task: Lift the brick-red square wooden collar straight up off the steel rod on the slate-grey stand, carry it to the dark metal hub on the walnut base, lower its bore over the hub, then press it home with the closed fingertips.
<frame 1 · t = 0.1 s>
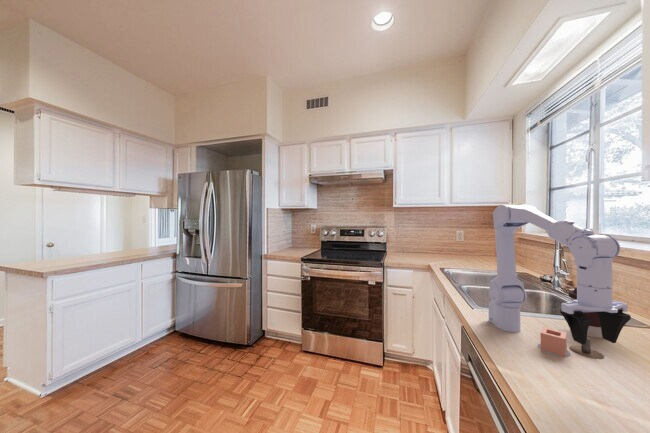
hand: (594, 341, 59), 10 cm above the table, tool pointing down, fingers open, 7 cm apart
coffee cup: (589, 335, 81), on the table
stand: (553, 352, 72), on the table
collar: (553, 349, 72), point 1 cm above the table, touching stand
hub: (586, 354, 70), on the table
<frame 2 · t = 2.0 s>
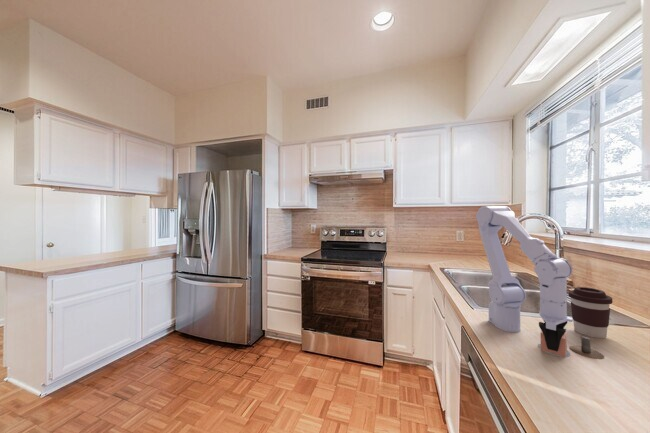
hand: (553, 345, 71), 2 cm above the table, tool pointing down, fingers closed on collar, 5 cm apart
collar: (553, 349, 72), point 1 cm above the table, touching gripper, stand
everything else where it was.
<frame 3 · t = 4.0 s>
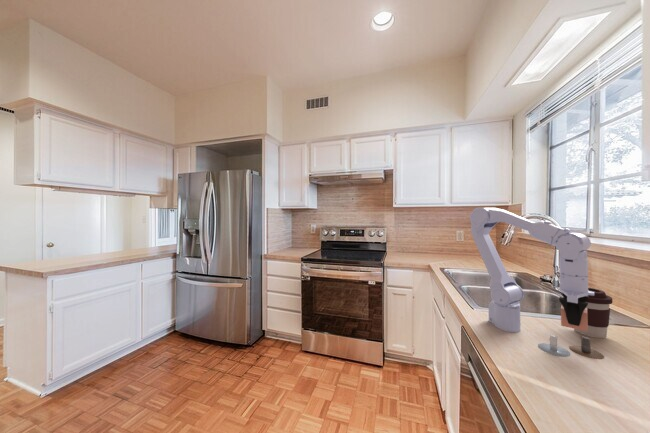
hand: (574, 321, 70), 9 cm above the table, tool pointing down, fingers closed on collar, 5 cm apart
collar: (574, 325, 70), point 8 cm above the table, touching gripper
everything else where it was.
when the fingers open (3 cm above the table, at t = 5.9 s): collar drops 1 cm, resting on hub.
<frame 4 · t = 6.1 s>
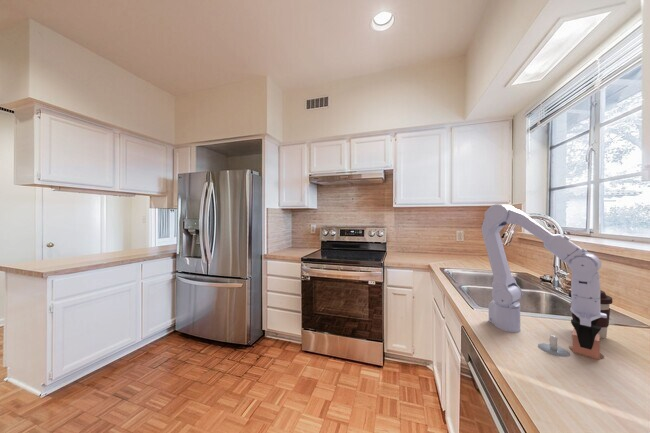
hand: (585, 342, 70), 3 cm above the table, tool pointing down, fingers open, 7 cm apart
collar: (586, 351, 70), point 1 cm above the table, touching hub
everything else where it was.
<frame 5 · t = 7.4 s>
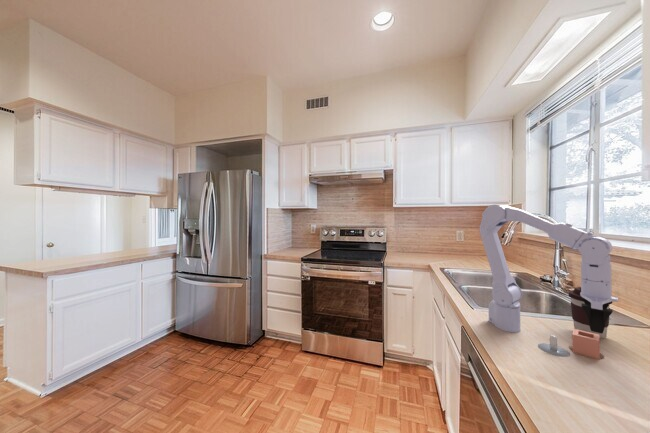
hand: (596, 327, 69), 8 cm above the table, tool pointing down, fingers open, 6 cm apart
nothing on the table moved.
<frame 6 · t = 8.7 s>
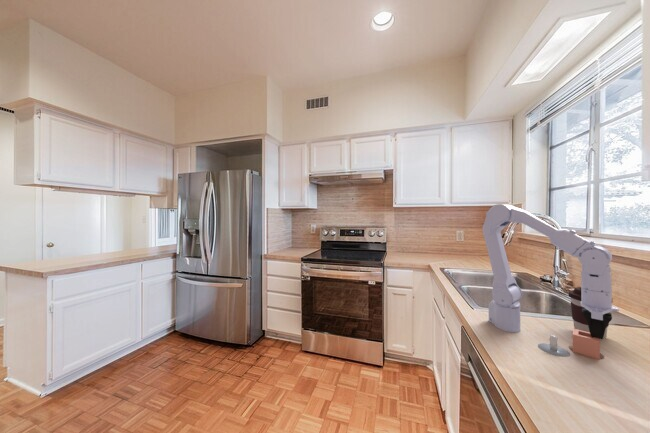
hand: (596, 337, 69), 6 cm above the table, tool pointing down, fingers closed, pressing on collar
collar: (586, 351, 70), point 1 cm above the table, touching gripper, hub
everything else where it was.
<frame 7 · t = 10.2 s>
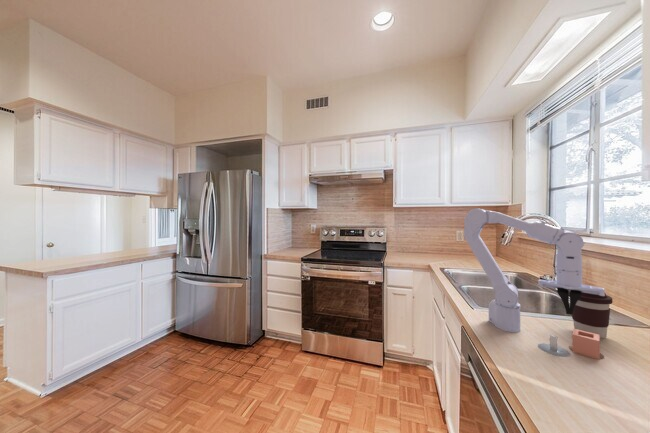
hand: (569, 313, 76), 9 cm above the table, tool pointing down, fingers closed
collar: (586, 351, 70), point 1 cm above the table, touching hub
everything else where it was.
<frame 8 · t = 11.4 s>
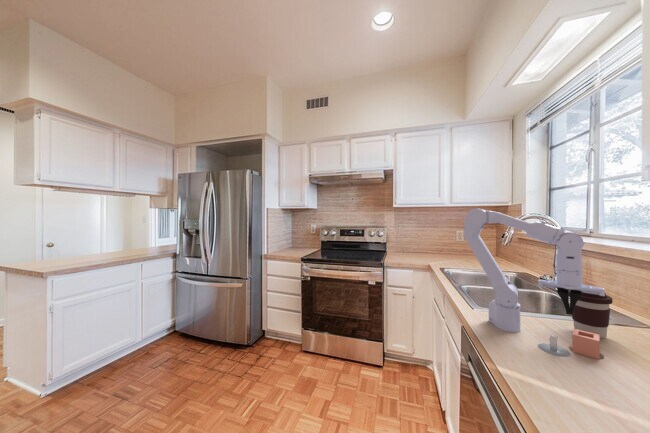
hand: (569, 313, 76), 9 cm above the table, tool pointing down, fingers closed
nothing on the table moved.
at the end: collar 0.0 cm off-centre on the hub, point 0.8 cm above the hub's base; collar tilted 0°; the gripper is holding nothing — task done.
